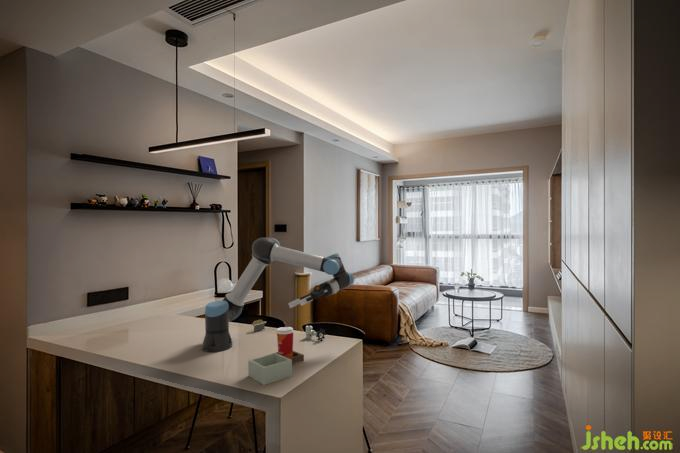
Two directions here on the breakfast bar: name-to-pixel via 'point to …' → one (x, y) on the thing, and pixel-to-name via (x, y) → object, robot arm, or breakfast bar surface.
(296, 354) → the walnut collar
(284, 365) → the box
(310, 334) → the valve
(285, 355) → the coffee cup
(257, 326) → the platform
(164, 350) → the breakfast bar surface
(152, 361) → the breakfast bar surface
